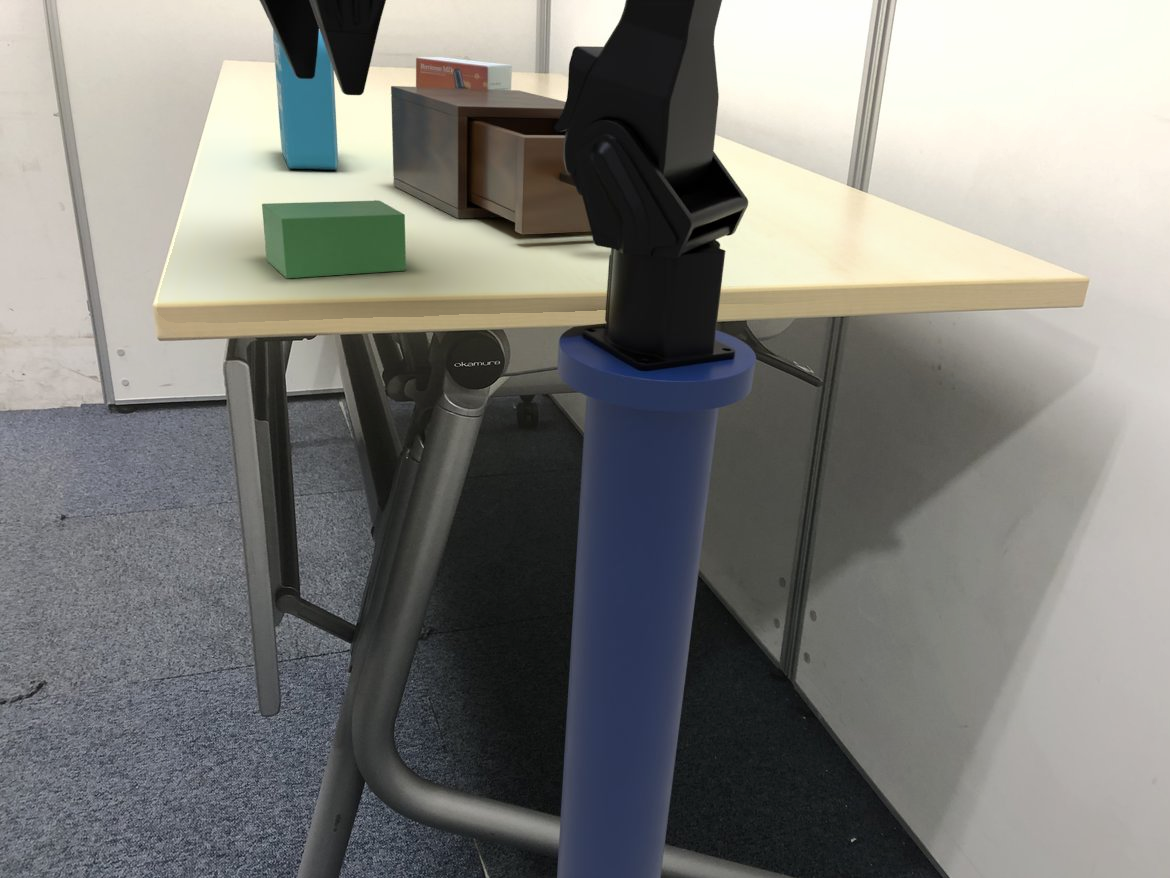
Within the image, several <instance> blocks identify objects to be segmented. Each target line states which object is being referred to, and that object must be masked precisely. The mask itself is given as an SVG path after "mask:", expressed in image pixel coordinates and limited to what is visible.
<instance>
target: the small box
mask: <svg viewBox="0 0 1170 878" xmlns="http://www.w3.org/2000/svg"><path fill="white" fill-rule="evenodd" d="M512 74H513V66H512V65H511V64H509V63H497V62H489V61H477V60H469V59H462V58H461V59H460V58H451V57H444V56H417V57H416V58H415V87H435V88H463V89H491V90H512V79H513V77H512V76H513V75H512Z"/></svg>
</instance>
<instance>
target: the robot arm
mask: <svg viewBox="0 0 1170 878" xmlns="http://www.w3.org/2000/svg"><path fill="white" fill-rule="evenodd" d="M386 1H387V0H259V2H260V4H261V7H262V9H263V11H264V13H265V15H266V17H267V19H268V21H269V23H270V25H271V27H272V30H273V29H274V32H275V34H276V36H277V38H278V40H279V42H280V44H281V46H282V49H283V51H284V53H285V55H286V57H287V59H288V61H289V63H290V66H291V68H292V70H293V72H294V74H295V76H296V77H297V78H300V79H313V78H314V76H315V69H316V60H317V51H318V38H319V30H320V32H321V35H322V38H323V41H324V44H325V47H326V50H327V53H328V55H329V58H330V61H331V64H332V67H333V69H334V76H335V78H336V79H337V82H338V85H339V88H340V91H341V92H342V93H343V94H344V95H346V96H361V95H364V92H365V88H366V85H367V81H368V75H369V71H370V67H371V63H372V58H373V53H374V50H375V45H376V41H377V36H378V33H379V28H380V25H381V20H382V16H383V13H384V9H385V5H386V3H387V2H386ZM722 3H723V0H625V3H624V7H623V11H622V13H621V17H620V19H619V21H618V23H617V24H616V26H615V28H614V29H613V31H612V32H611V34H610V35H609V37H608V39H607V41H606V42H605V44H604V45H603V46H586V45H585V46H584V45H580V46H579V45H577V46H575V47H574V48H573V49H572V52H571V56H570V60H569V63H568V76H567V77H568V79H567V94H566V99H565V102H566V103H565V106H564V110H563V113H562V115H561V116H560V118H559V120H558V121H557V123H556V125H555V130H556V131H557V132H561V131H566V135H565V138H564V149H563V159H564V165H565V170H566V172H567V173H568V174H569V175H570V176H571V178H572V180H573V182H574V184H575V186H576V188H577V190H578V191H579V192H580V193H581V195H582V197H583V201H584V205H585V209H586V213H587V217H588V221H589V225H590V229H591V231H590V232H591V236H592V240H593V243H594V245H596V246H598V247H601V248H608V249H610V255H609V256H608V271H607V285H606V299H605V301H606V302H605V314H604V315H605V317H604V323H606V326H601V327H592V328H585V329H583V336H582V337H583V338H584V339H586V340H587V341H589V342H591V343H592V344H594V345H596V346H598V347H599V348H601V349H603V350H604V351H606V352H608V353H609V354H611V355H613V356H614V357H616V358H618V359H620V360H621V361H623V362H625V363H626V364H628V365H630V366H631V367H633V368H635V369H637V370H640V371H653V370H660V369H667V368H674V367H681V366H688V365H695V364H702V363H709V362H717V361H724V360H731V359H734V358H735V349H733V348H731V347H729V346H727V345H725V344H723V343H721V342H719V341H717V340H715V335H716V330H717V325H718V317H719V309H720V300H721V291H722V285H723V284H722V283H723V276H724V266H725V258H726V250H725V249H723V248H721V243H720V242H719V241H718V240H719V239H720V238H723V237H726V236H730V237H731V236H732V235H733V234H736V231H737V229H738V227H739V225H740V222H741V221H742V219H743V217H744V214H745V212H746V211H747V209H748V207H749V199H748V198H747V196H746V195H745V193H744V191H742V189H741V188H740V186H739V185H738V183H737V182H736V180H735V178H733V177H732V175H731V174H730V172H729V170H728V169H727V168H726V167H725V165H724V164H723V162H722V161H721V159H720V158H719V156H718V155H717V154H716V152H715V151H714V150H715V149H714V148H715V139H716V130H717V129H716V128H717V119H718V109H719V99H720V96H719V95H720V94H719V93H720V92H719V82H718V74H717V63H716V62H717V61H716V52H715V51H716V50H715V34H716V27H717V22H718V19H719V15H720V11H721V7H722Z"/></svg>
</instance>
